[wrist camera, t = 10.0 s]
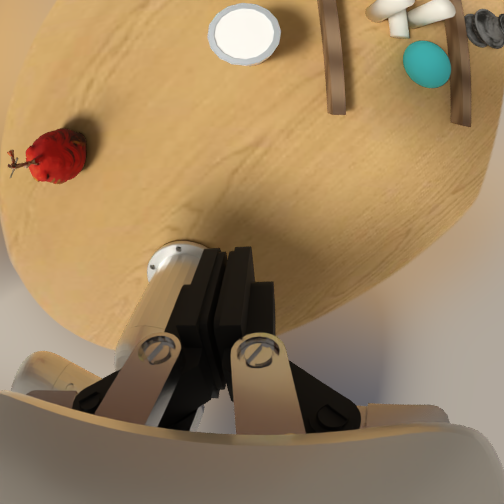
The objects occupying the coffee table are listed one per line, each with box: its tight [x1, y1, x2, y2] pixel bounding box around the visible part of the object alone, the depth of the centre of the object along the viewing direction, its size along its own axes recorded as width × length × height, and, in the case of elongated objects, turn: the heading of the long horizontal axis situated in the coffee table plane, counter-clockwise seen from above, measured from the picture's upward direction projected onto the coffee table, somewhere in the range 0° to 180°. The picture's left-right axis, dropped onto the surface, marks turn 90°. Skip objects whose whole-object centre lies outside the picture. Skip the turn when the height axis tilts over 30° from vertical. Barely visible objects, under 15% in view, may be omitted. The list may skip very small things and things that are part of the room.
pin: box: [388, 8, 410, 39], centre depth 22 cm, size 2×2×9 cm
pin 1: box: [366, 0, 415, 23], centre depth 20 cm, size 2×2×9 cm
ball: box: [403, 41, 451, 88], centre depth 24 cm, size 6×6×6 cm
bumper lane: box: [317, 0, 471, 127], centre depth 23 cm, size 25×19×3 cm
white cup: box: [208, 3, 281, 66], centre depth 25 cm, size 7×7×7 cm
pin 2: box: [406, 0, 456, 29], centre depth 20 cm, size 2×2×9 cm
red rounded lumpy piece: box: [7, 128, 86, 184], centre depth 28 cm, size 8×7×15 cm
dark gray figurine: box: [464, 9, 504, 49], centre depth 17 cm, size 6×6×12 cm
